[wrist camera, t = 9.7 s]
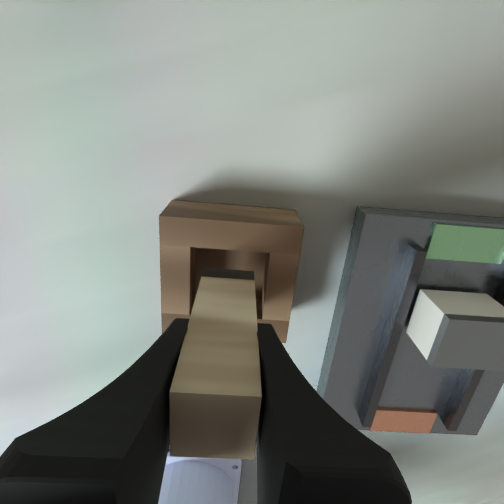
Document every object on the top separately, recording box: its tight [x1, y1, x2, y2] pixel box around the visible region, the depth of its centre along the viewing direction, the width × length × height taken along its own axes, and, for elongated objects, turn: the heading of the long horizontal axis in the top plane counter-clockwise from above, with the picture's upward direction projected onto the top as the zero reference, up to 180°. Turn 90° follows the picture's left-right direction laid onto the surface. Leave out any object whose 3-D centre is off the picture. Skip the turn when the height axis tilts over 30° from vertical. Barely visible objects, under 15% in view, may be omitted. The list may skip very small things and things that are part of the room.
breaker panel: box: [317, 206, 504, 435], centre depth 21 cm, size 16×12×2 cm
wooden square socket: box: [159, 200, 304, 343], centre depth 19 cm, size 7×7×3 cm
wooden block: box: [169, 268, 262, 460], centre depth 13 cm, size 2×2×8 cm
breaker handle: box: [406, 289, 504, 371], centre depth 18 cm, size 3×4×3 cm
